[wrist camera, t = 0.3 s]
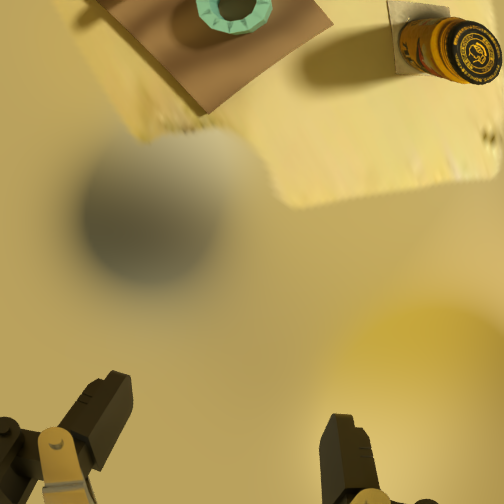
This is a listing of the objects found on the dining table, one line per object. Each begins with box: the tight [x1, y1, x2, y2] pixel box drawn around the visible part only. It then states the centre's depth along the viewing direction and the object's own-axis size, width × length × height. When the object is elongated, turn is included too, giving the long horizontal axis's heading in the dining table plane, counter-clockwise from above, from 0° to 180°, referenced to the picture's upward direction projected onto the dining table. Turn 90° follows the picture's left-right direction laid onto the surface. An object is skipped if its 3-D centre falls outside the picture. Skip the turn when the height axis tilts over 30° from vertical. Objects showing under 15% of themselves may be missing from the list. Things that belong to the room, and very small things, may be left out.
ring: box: [196, 0, 273, 35], centre depth 23 cm, size 6×6×4 cm
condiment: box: [387, 0, 502, 85], centre depth 20 cm, size 7×8×12 cm
